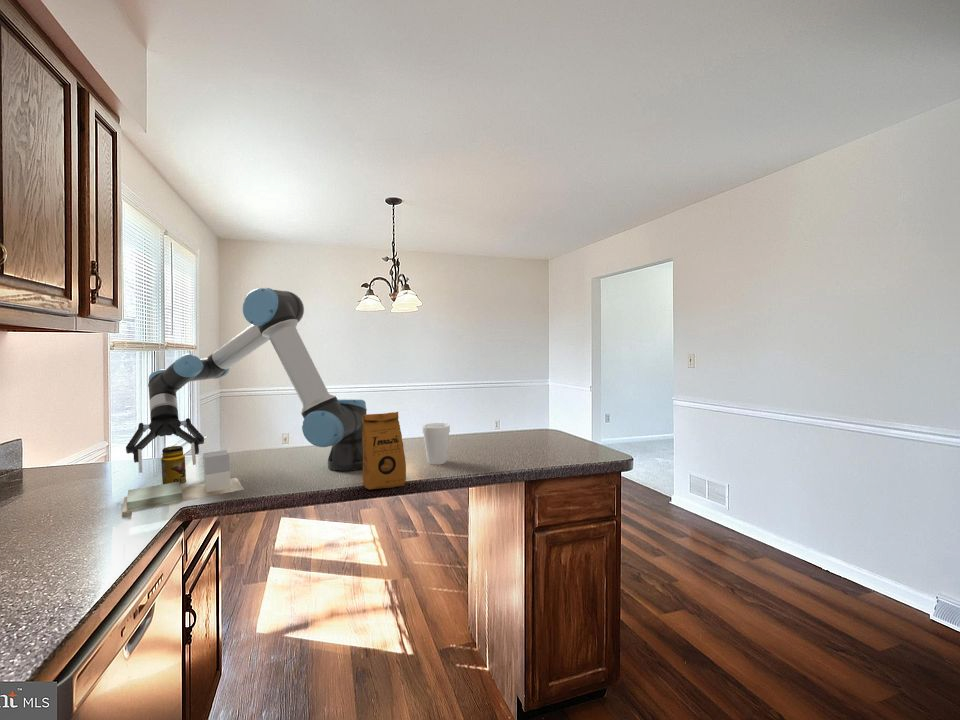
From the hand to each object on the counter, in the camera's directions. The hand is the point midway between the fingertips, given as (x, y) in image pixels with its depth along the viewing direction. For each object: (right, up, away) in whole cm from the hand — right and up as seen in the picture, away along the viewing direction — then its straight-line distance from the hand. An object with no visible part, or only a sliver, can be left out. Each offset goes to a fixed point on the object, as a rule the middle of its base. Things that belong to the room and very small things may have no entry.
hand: (168, 466), depth 142 cm
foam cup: (+79, -4, +23) cm, 83 cm away
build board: (+11, -7, -10) cm, 16 cm away
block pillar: (+18, -5, -5) cm, 19 cm away
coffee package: (+66, -5, -2) cm, 66 cm away
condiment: (+1, -6, 0) cm, 7 cm away
